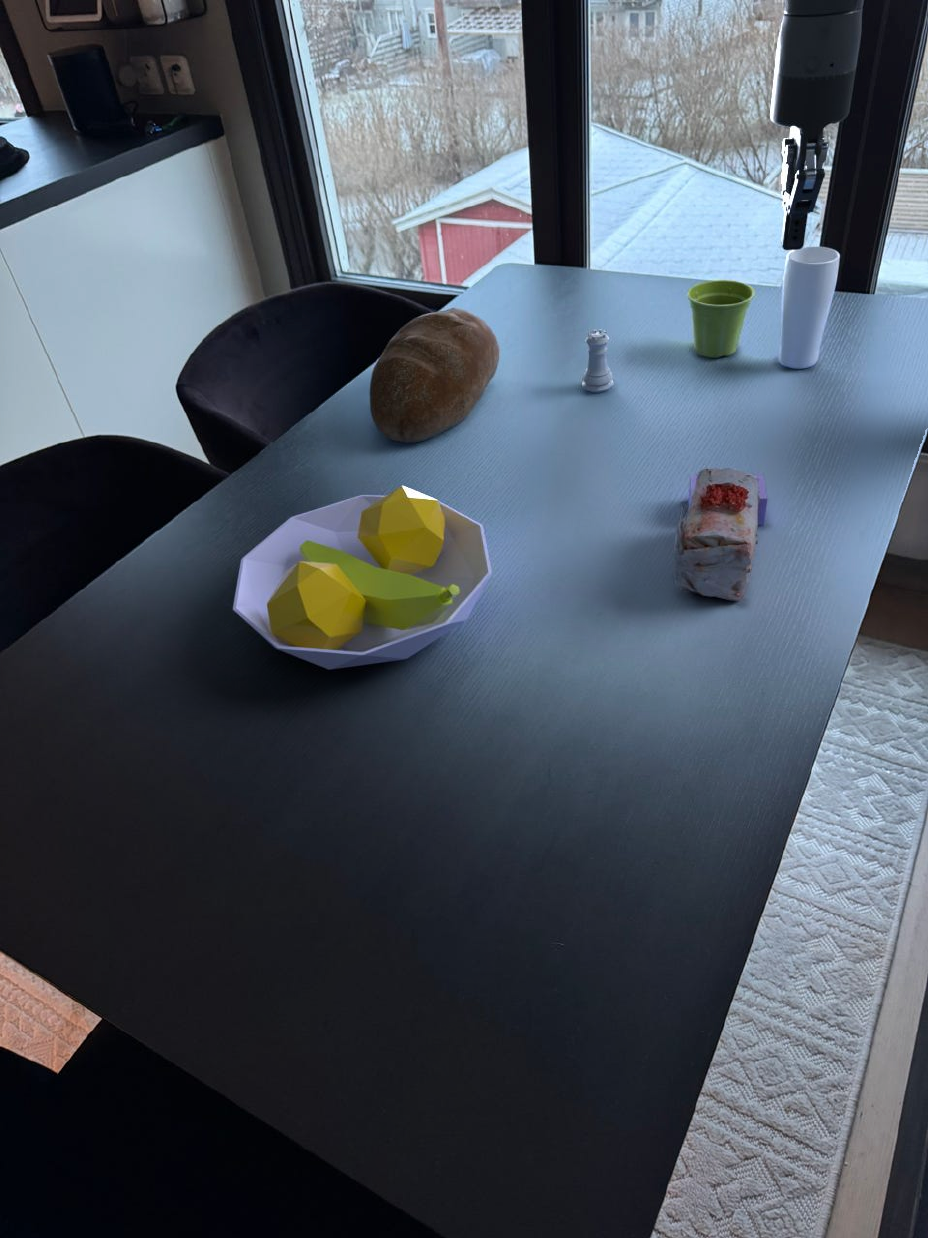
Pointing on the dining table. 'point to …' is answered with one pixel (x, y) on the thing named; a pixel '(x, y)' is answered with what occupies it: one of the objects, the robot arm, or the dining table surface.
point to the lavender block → (762, 490)
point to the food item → (718, 535)
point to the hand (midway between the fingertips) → (791, 247)
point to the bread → (432, 374)
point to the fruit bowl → (364, 579)
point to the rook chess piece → (597, 364)
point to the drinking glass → (806, 303)
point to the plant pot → (718, 315)
